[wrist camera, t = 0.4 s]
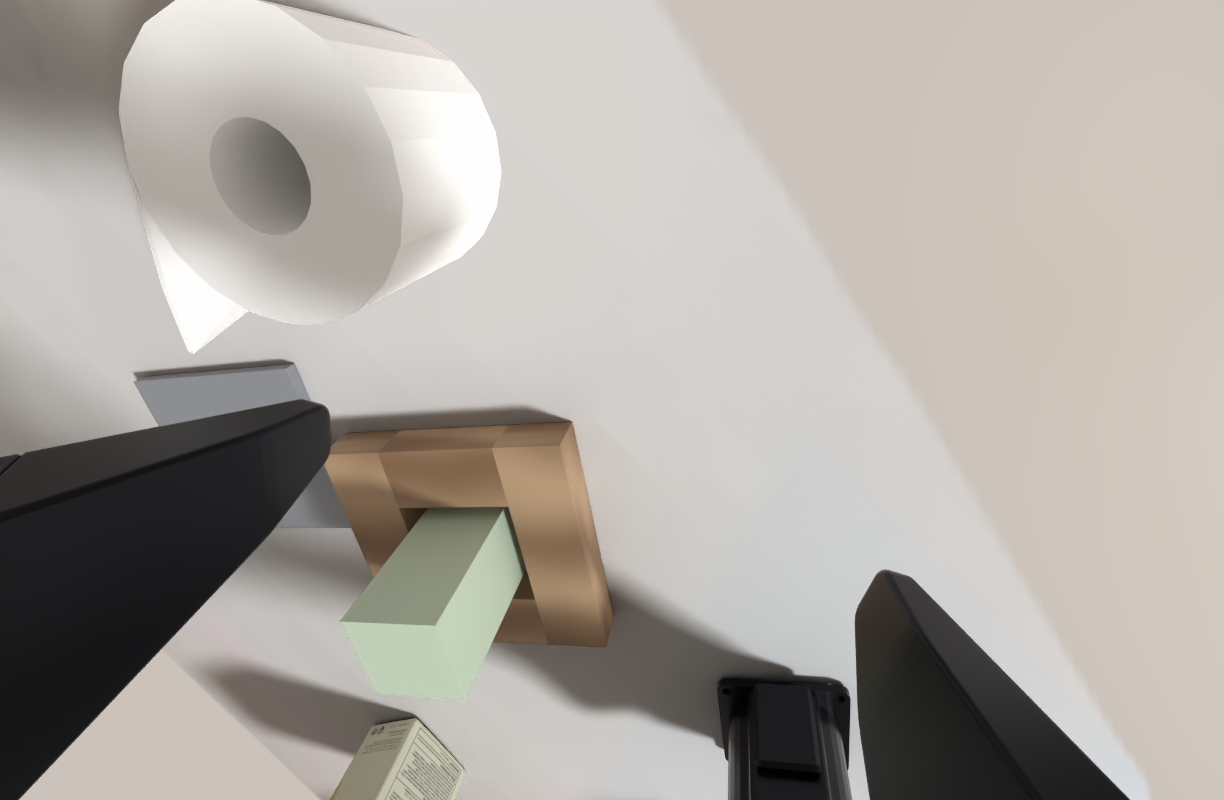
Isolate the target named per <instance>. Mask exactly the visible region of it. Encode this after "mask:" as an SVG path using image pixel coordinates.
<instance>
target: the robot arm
mask: <svg viewBox="0 0 1224 800" xmlns="http://www.w3.org/2000/svg"><path fill="white" fill-rule="evenodd" d="M330 450H331V438H330V415H329V411H328V409H327V407H326V406H324V405H322V404H319V403H316V402H312V401H309V400H305V399H298V400H293V401H288V402H283V403H277V404H272V405H267V406H262V407H257V408H252V409H247V410H241V411H236V412H231V413H226V414H221V415H216V416H211V417H206V418H200V419H195V420H190V421H185V422H180V423H175V424H170V425H165V426H159V427H154V428H149V429H144V430H139V431H134V432H129V433H123V434H118V435H113V436H108V437H103V438H98V439H93V440H88V441H82V442H77V443H72V444H67V445H62V446H57V447H52V448H47V449H41V450H36V451H31V452H26V453H24V454H23V455H22V456H21V455H18V454H15V455H10V456H5V457H0V800H19V799H20V798H21V797H22V796H23V795H24V794H25V793H26V792H27V791H28V789H29V788H30V787H31V786H32V785H33V784H34V783H35V782H36V781H37V780H38V779H39V778H40V777H41V776H42V775H43V774H44V773H45V772H46V770H47V769H48V768H49V767H50V766H51V765H52V764H53V763H54V762H55V761H56V760H57V759H58V758H59V757H60V755H62V754H63V753H64V751H65V750H66V749H67V748H68V747H69V746H70V745H71V744H72V743H73V742H74V741H75V739H77V738H78V737H79V736H80V735H81V733H82V732H83V731H84V730H85V729H86V728H87V727H88V726H89V725H90V724H91V723H92V722H93V721H94V720H95V719H96V718H97V717H98V715H99V714H100V713H101V712H102V711H103V710H104V709H105V708H106V707H107V706H108V705H109V704H110V703H111V702H112V701H113V700H114V699H115V698H116V696H117V695H118V694H119V693H120V692H121V691H122V690H123V689H124V688H125V687H126V686H127V685H128V684H129V683H130V682H131V681H132V680H133V679H134V677H135V676H136V675H137V674H138V673H139V672H140V671H141V670H142V669H143V668H144V667H145V666H146V665H147V664H148V662H150V661H151V659H152V658H153V657H154V656H155V655H156V654H157V653H158V652H159V651H160V650H161V649H162V648H163V647H164V646H165V645H166V644H167V643H168V642H169V641H170V639H171V638H172V637H173V636H174V635H175V634H176V633H177V632H178V631H179V630H180V629H181V628H182V627H183V626H184V625H185V624H186V623H187V621H188V620H189V619H190V618H191V617H192V616H193V615H194V614H195V613H196V612H197V611H198V610H199V609H200V608H201V607H202V606H203V605H204V604H205V602H206V601H207V600H208V599H209V598H210V597H211V596H212V595H213V594H214V593H215V592H216V591H217V590H218V589H219V588H220V587H221V586H222V585H223V583H224V582H225V581H226V580H227V579H228V578H229V577H230V576H231V575H232V574H233V573H234V572H235V571H236V570H237V569H238V568H239V567H240V565H241V564H242V563H243V562H244V561H245V560H246V559H247V558H248V557H249V556H250V555H251V554H252V553H253V552H254V551H255V550H256V549H257V548H258V546H259V545H260V544H261V543H262V542H263V541H264V540H265V539H266V538H267V537H268V535H269V534H270V533H271V532H272V531H273V530H274V528H275V527H276V526H277V525H278V523H279V522H280V521H281V520H282V518H283V517H284V516H285V514H286V513H287V512H288V511H289V509H290V508H291V507H292V505H293V504H294V503H295V501H296V500H297V499H298V498H299V496H300V495H301V494H302V492H303V491H304V490H305V488H306V487H307V486H308V485H309V483H310V482H311V481H312V479H313V478H314V477H315V475H316V474H317V473H318V472H319V470H320V469H321V468H322V466H323V465H324V464H325V462H326V461H327V459H328V457H329V454H330ZM855 645H856V675H857V703H858V719H859V727H860V736H861V743H862V749H863V756H864V763H865V770H866V776H867V783H868V790H869V797H870V800H1130V799H1129V798H1128V797H1127V796H1126V795H1125V794H1124V793H1123V792H1122V791H1121V790H1120V789H1119V788H1118V787H1117V786H1116V785H1115V784H1114V783H1113V782H1112V781H1111V780H1110V779H1109V778H1108V777H1107V776H1106V775H1105V774H1104V773H1103V772H1102V771H1101V770H1100V769H1099V768H1098V767H1097V766H1096V765H1095V764H1094V763H1093V761H1092V760H1091V759H1090V758H1089V757H1088V756H1087V755H1086V754H1085V753H1084V752H1083V751H1082V750H1081V749H1080V748H1079V747H1078V746H1077V745H1076V744H1075V743H1074V742H1073V741H1072V740H1071V739H1070V738H1069V737H1068V736H1067V735H1066V734H1065V733H1064V732H1063V731H1062V730H1061V729H1060V728H1059V727H1058V726H1057V725H1056V724H1055V723H1054V722H1053V721H1052V720H1051V719H1050V718H1049V717H1048V716H1047V715H1046V714H1045V713H1044V712H1043V711H1042V710H1041V709H1040V708H1039V707H1038V706H1037V705H1036V704H1035V703H1034V702H1033V700H1032V699H1031V698H1030V697H1029V696H1028V695H1027V694H1026V693H1025V692H1024V691H1023V690H1022V689H1021V688H1020V687H1019V686H1018V685H1017V684H1016V683H1015V682H1014V681H1013V680H1012V679H1011V678H1010V677H1009V676H1008V675H1007V674H1006V673H1005V672H1004V671H1003V670H1002V669H1001V668H1000V667H999V666H998V665H997V664H996V663H995V662H994V661H993V660H992V659H991V658H990V657H989V656H988V655H987V654H986V653H985V652H984V651H983V650H982V649H981V648H980V647H979V646H978V645H977V644H976V643H975V642H974V641H973V639H972V638H971V637H970V636H969V635H968V634H967V633H966V632H965V631H964V630H963V629H962V628H961V627H960V626H959V625H958V624H957V623H956V622H955V621H954V620H953V619H952V618H951V617H950V616H949V615H948V614H947V613H946V612H945V611H944V610H943V609H942V608H941V607H940V606H939V605H938V604H937V603H936V602H935V601H934V600H933V599H932V598H931V597H930V596H929V595H928V594H927V593H926V592H925V591H924V590H923V589H922V588H921V587H920V586H919V585H918V584H917V583H916V582H915V581H914V580H913V579H912V578H911V577H909V576H907V575H903V574H900V573H896V572H893V571H890V570H881V571H880V572H878V573H877V575H876V576H875V578H874V579H873V581H872V583H871V584H870V586H869V588H868V590H867V591H866V593H865V595H864V597H863V598H862V600H861V602H860V604H859V605H858V608H857V611H856V615H855ZM717 692H718V700H719V709H720V717H721V726H722V734H723V743H724V751H725V758H726V760H727V761H728V800H852V795H851V789H850V783H849V777H848V772H847V771H848V767H849V732H850V695H849V691H848V689H847V688H846V687H844V686H840V685H828V684H812V683H795V682H779V681H762V680H746V679H730V678H724V679H721V680H719V681H718V689H717Z"/></svg>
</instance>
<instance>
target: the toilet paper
mask: <svg viewBox="0 0 1224 800" xmlns="http://www.w3.org/2000/svg"><path fill="white" fill-rule="evenodd" d="M118 112H119V118H120V124H121V130H122V136H123V142H124V148H125V154H126V159H127V164H128V168H129V172H130V176H131V179H132V183H133V187H134V191H135V194H136V198H137V202H138V206H139V210H140V213H141V217H142V221H143V224H144V228H145V231H146V234H147V238H148V241H149V245H150V248H151V251H152V255H153V258H154V262H155V265H156V268H157V272H158V275H159V278H160V282H161V285H162V289H163V291H164V293H165V296H166V298H167V301H168V303H169V306H170V308H171V311H172V313H173V316H174V318H175V320H176V323H177V325H178V328H179V330H180V333H181V335H182V338H183V340H184V342H185V345H186V347H187V350H188V351H189V352H191V353H193V354H194V353H195V352H197V351H198V350H199V349H200V348H202V347H203V346H204V345H206V344H207V343H208V342H209V341H211V340H212V339H213V338H215V337H216V336H217V335H218V334H220V333H221V332H222V331H223V330H225V329H226V328H227V327H229V326H230V325H231V324H232V323H234V322H235V321H236V320H237V319H239V318H240V317H241V316H243V315H244V314H245V313H246V312H248V311H249V312H252V313H255V314H258V315H261V316H264V317H267V318H271V319H274V320H277V321H280V322H283V323H286V324H327V323H329V322H332V321H334V320H337V319H339V318H342V317H344V316H347V315H349V314H352V313H354V312H357V311H359V310H361V309H363V308H365V307H367V306H369V305H371V304H372V303H374V302H376V301H378V300H380V299H382V298H384V297H386V296H388V295H390V294H391V293H393V292H395V291H397V290H399V289H401V288H403V287H405V286H407V285H409V284H410V283H412V282H414V281H416V280H418V279H420V278H422V277H424V276H426V275H428V274H429V273H431V272H433V271H435V270H437V269H439V268H441V267H443V266H445V265H447V264H448V263H450V262H452V261H454V260H456V259H458V258H460V257H461V256H463V255H464V254H465V253H466V252H467V251H468V250H469V249H470V248H471V247H472V246H473V245H474V244H475V243H476V242H477V241H478V240H479V239H480V238H481V237H482V236H483V234H484V232H485V230H486V228H487V226H488V224H489V222H490V220H491V218H492V215H493V213H494V211H495V209H496V207H497V200H498V192H499V185H500V178H501V166H500V159H499V152H498V145H497V138H496V132H495V130H494V128H493V125H492V123H491V121H490V118H489V116H488V114H487V111H486V109H485V107H484V104H483V102H482V100H481V97H480V95H479V94H478V92H477V91H476V90H475V89H474V87H473V86H472V85H471V83H470V82H469V81H468V80H467V78H466V77H465V76H464V75H463V73H462V72H461V71H460V70H459V68H458V67H457V66H456V65H455V63H454V62H453V61H451V60H450V59H449V58H447V57H446V56H444V55H443V54H441V53H440V52H439V51H437V50H436V49H434V48H433V47H431V46H430V45H429V44H427V43H426V42H424V41H423V40H421V39H419V38H416V37H412V36H408V35H405V34H401V33H398V32H394V31H391V30H387V29H383V28H379V27H375V26H370V25H366V24H362V23H358V22H353V21H349V20H345V19H341V18H336V17H332V16H328V15H324V14H319V13H315V12H311V11H307V10H302V9H298V8H294V7H289V6H285V5H281V4H277V3H272V2H268V1H264V0H175V1H173V2H172V3H171V4H169V5H168V6H167V7H165V8H164V9H163V10H161V11H160V12H159V13H157V14H156V15H155V16H153V17H152V18H151V19H149V20H148V21H147V22H145V23H144V24H143V26H142V28H141V30H140V32H139V34H138V36H137V38H136V40H135V42H134V44H133V46H132V48H131V50H130V52H129V54H128V56H127V58H126V60H125V62H124V65H123V74H122V83H121V92H120V102H119V111H118Z"/></svg>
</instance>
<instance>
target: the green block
mask: <svg viewBox="0 0 1224 800" xmlns="http://www.w3.org/2000/svg"><path fill="white" fill-rule="evenodd" d="M525 570H526V566H525V562H524V559H523V555H522V552H521V548H520V545H519V541H518V538H517V535H516V531H515V528H514V524H513V521H512V517H511V514H510V510H509V507H441V508H428V509H427V510H426V511H425V513H424V514H423V515H422V516H421V518H420V519H419V520H418V522H417V523H416V524H415V525H414V527H413V528H412V529H411V531H410V532H409V533H408V534H407V536H406V537H405V538H404V540H403V541H402V542H401V543H400V545H399V546H398V547H397V549H396V550H395V551H394V552H393V554H392V555H391V556H390V558H389V559H388V560H387V561H386V563H385V564H384V565H383V567H382V568H381V569H380V570H379V572H378V573H377V574H376V576H375V577H374V578H373V579H372V581H371V582H370V583H369V585H368V586H367V587H366V588H365V590H364V591H363V592H362V594H361V595H360V596H359V597H358V599H357V600H356V601H355V603H354V604H353V605H352V606H351V608H350V609H349V610H348V612H347V613H346V614H345V615H344V617H343V618H342V619H341V621H340V623H341V625H342V627H343V630H344V632H345V634H346V636H347V638H348V640H349V642H350V644H351V646H352V648H353V650H354V652H355V654H356V656H357V658H358V660H359V662H360V664H361V666H362V668H363V670H364V672H365V674H366V676H367V678H368V680H369V682H370V684H371V686H372V688H373V690H374V692H375V694H382V695H394V696H407V697H420V698H433V699H445V700H458V701H465V700H466V698H467V696H468V694H469V692H470V689H471V687H472V685H473V683H474V681H475V679H476V676H477V674H478V672H479V670H480V668H481V666H482V663H483V661H484V659H485V657H486V655H487V652H488V650H489V648H490V646H491V644H492V642H493V639H494V637H495V635H496V633H497V631H498V629H499V626H500V624H501V622H502V620H503V618H504V616H505V613H506V611H507V609H508V607H509V605H510V603H511V600H512V598H513V596H514V594H515V592H516V590H517V587H518V585H519V583H520V581H521V579H522V576H523V574H524V572H525Z"/></svg>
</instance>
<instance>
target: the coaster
mask: <svg viewBox="0 0 1224 800" xmlns="http://www.w3.org/2000/svg"><path fill="white" fill-rule="evenodd" d="M134 383H135V385H136V387H137V389H138V390H139V392H140V394H141V396H142V397H143V399H144V401H145V403H146V405H147V406H148V408H149V410H150V412H151V413H152V415H153V417H154V419H155V420H156V422H157V424H158V426H165V425H170V424H175V423H180V422H185V421H190V420H195V419H200V418H206V417H211V416H216V415H221V414H226V413H231V412H236V411H241V410H247V409H252V408H257V407H262V406H267V405H272V404H277V403H283V402H288V401H293V400H298V399H305V400H309V401H310V399H309V396H308V394H307V392H306V389H305V387H304V385H303V382H302V380H301V378H300V375H299V373H298V371H297V368H296V366H295V364H286V365H274V366H263V367H251V368H240V369H228V370H217V371H205V372H194V373H182V374H171V375H159V376H148V377H143V378H141V379H139V380H137V381H134ZM275 528H352V527H351V525H350V523H349V520H348V518H347V516H346V513H345V511H344V509H343V507H342V504H341V502H340V500H339V497H338V495H337V493H336V491H335V488H334V486H333V484H332V481H331V479H330V477H329V475H328V472H327V470H326V468H325V466H324V465H323V466H322V468H321V469H320V470H319V472H318V473H317V474H316V475H315V477H314V478H313V479H312V481H311V482H310V483H309V485H308V486H307V487H306V488H305V490H304V491H303V492H302V494H301V495H300V496H299V498H298V499H297V500H296V501H295V503H294V504H293V505H292V507H291V508H290V509H289V511H288V512H287V513H286V514H285V516H284V517H283V518H282V520H281V521H280V522H279V523H278V525H277V526H276V527H275Z"/></svg>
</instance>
